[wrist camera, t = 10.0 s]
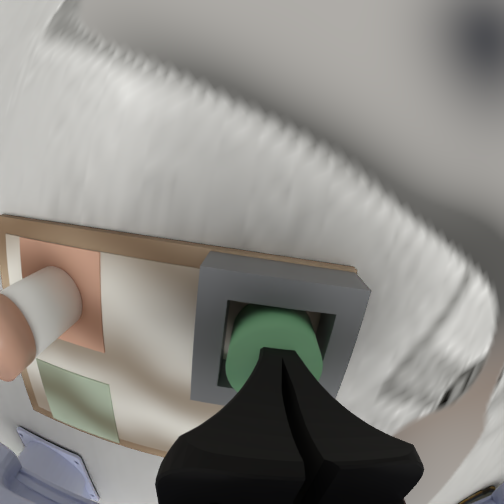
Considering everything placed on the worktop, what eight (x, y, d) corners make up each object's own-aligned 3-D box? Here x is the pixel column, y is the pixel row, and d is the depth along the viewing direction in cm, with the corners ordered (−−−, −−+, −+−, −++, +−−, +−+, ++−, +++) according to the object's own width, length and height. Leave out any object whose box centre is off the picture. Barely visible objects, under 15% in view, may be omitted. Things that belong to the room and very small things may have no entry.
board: (287, 468, 18) (288, 476, 18) (36, 405, 18) (32, 411, 18) (353, 266, 14) (358, 271, 14) (3, 214, 14) (-5, 216, 14)
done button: (302, 369, 15) (309, 408, 12) (228, 360, 15) (221, 398, 12) (320, 302, 14) (333, 334, 11) (237, 290, 14) (231, 321, 11)
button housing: (321, 386, 16) (328, 415, 13) (198, 371, 16) (190, 399, 13) (354, 272, 14) (371, 290, 12) (210, 250, 14) (199, 266, 12)
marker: (85, 333, 15) (24, 393, 9) (39, 316, 15) (-23, 364, 9) (81, 272, 14) (4, 320, 8) (33, 259, 14) (-42, 296, 8)
